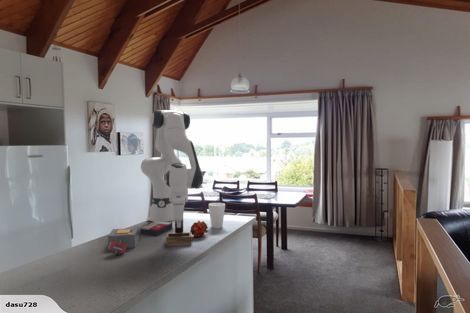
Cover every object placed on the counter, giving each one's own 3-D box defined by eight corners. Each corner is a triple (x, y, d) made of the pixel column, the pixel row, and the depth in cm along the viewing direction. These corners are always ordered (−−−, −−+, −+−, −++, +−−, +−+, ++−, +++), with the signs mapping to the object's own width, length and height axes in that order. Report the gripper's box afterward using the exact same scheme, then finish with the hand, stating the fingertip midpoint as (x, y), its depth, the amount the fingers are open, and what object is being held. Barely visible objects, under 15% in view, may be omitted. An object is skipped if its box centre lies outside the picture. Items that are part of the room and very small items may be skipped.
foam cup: (206, 225, 199) (206, 203, 198) (221, 224, 203) (221, 202, 202) (212, 229, 190) (212, 206, 190) (227, 227, 194) (227, 205, 194)
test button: (118, 235, 167) (118, 229, 166) (131, 235, 168) (131, 229, 167) (115, 239, 161) (115, 232, 161) (129, 238, 162) (129, 232, 161)
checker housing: (113, 241, 169) (113, 228, 169) (138, 240, 171) (138, 227, 171) (108, 248, 158) (107, 235, 157) (135, 247, 159) (134, 233, 159)
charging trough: (166, 241, 169) (166, 233, 169) (191, 240, 171) (191, 232, 170) (165, 246, 161) (165, 237, 161) (191, 244, 163) (191, 236, 163)
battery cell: (174, 231, 167) (174, 211, 167) (183, 230, 168) (183, 211, 168) (174, 233, 163) (174, 213, 163) (183, 233, 164) (183, 212, 163)
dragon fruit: (206, 236, 183) (194, 245, 173) (194, 225, 185) (182, 234, 175) (214, 225, 180) (202, 234, 169) (201, 214, 182) (189, 222, 171)
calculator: (139, 227, 182) (155, 220, 196) (140, 235, 183) (156, 227, 197) (157, 229, 178) (172, 221, 192) (157, 237, 179) (172, 229, 193)
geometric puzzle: (130, 245, 155) (119, 232, 153) (130, 250, 149) (118, 236, 147) (117, 256, 154) (105, 243, 152) (117, 261, 147) (104, 248, 145)
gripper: (172, 194, 175) (173, 221, 175) (171, 201, 154) (171, 231, 155) (185, 193, 176) (185, 220, 176) (185, 200, 155) (185, 230, 156)
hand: (179, 225), depth 166 cm, fingers closed on battery cell, 4 cm apart
